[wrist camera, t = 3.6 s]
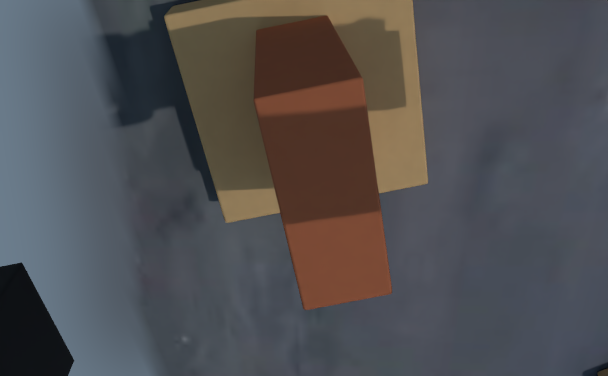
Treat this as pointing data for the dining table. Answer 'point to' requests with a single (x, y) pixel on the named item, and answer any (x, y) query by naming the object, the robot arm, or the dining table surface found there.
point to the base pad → (603, 372)
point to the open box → (308, 125)
